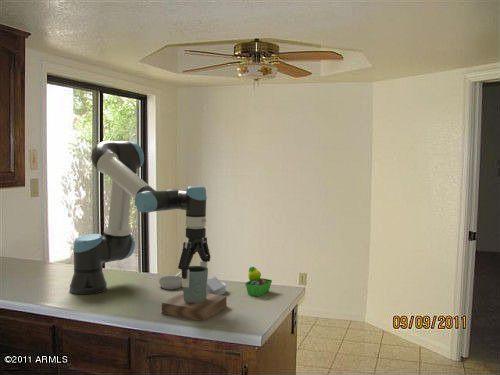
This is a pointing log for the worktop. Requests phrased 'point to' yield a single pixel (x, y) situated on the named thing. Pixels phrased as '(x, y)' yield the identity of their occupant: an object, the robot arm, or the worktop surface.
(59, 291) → the worktop surface
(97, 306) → the worktop surface
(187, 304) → the walnut stand
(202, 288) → the grey cup
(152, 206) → the robot arm
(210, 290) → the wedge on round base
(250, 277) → the fruit basket
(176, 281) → the small pan
